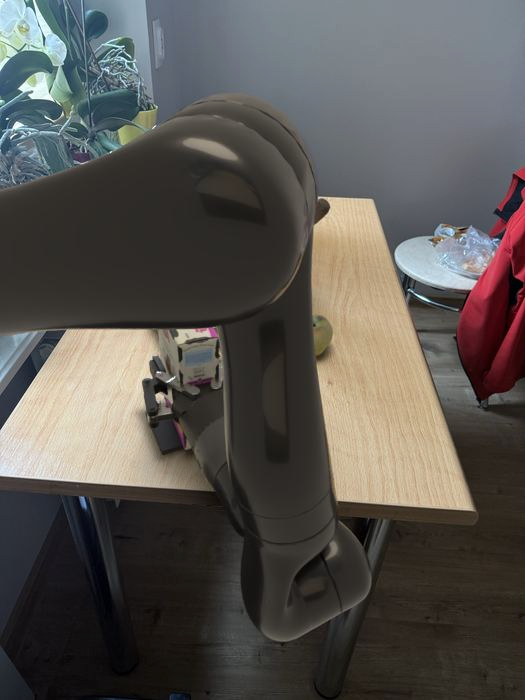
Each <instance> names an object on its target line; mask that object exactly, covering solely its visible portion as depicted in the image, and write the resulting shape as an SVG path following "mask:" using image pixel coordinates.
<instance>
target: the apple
mask: <svg viewBox="0 0 525 700" xmlns="http://www.w3.org/2000/svg"><path fill="white" fill-rule="evenodd" d="M313 330H314V343H315V354H316V357H318V356H320V355H322V354H323V352H324V351H325V350H326V348H328V346H329V345H330V343H331V342H332V339H333V336H334V329H333V326H332V323H331V322H330V321H329V320H328V318H327V317H326V316H324V315H321V314H313Z"/></svg>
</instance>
